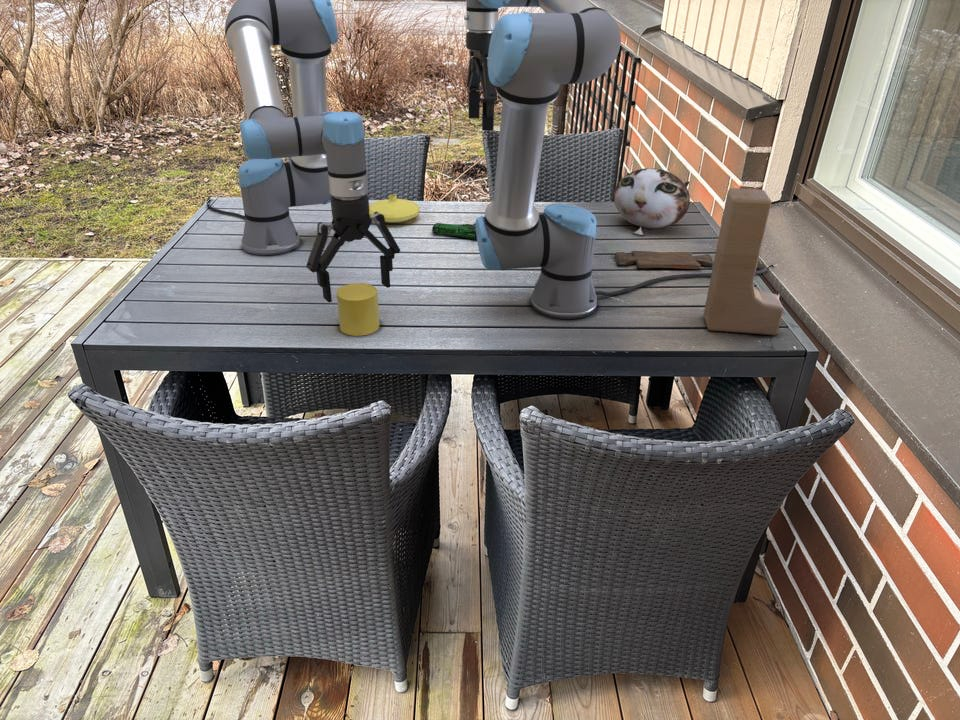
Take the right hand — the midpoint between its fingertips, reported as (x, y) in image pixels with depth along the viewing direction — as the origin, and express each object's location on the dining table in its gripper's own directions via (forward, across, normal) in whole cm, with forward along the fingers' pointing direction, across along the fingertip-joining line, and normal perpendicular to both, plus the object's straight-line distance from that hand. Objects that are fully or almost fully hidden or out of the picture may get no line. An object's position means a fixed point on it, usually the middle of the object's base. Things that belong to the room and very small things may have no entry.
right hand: (480, 124), depth 179 cm
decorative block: (+34, +56, +46) cm, 80 cm away
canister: (+34, +37, -37) cm, 62 cm away
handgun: (+34, -15, 0) cm, 37 cm away
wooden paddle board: (+34, +20, +46) cm, 60 cm away
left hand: (+25, +38, -37) cm, 58 cm away
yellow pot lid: (+34, -30, -19) cm, 49 cm away
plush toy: (+34, -6, +54) cm, 64 cm away
